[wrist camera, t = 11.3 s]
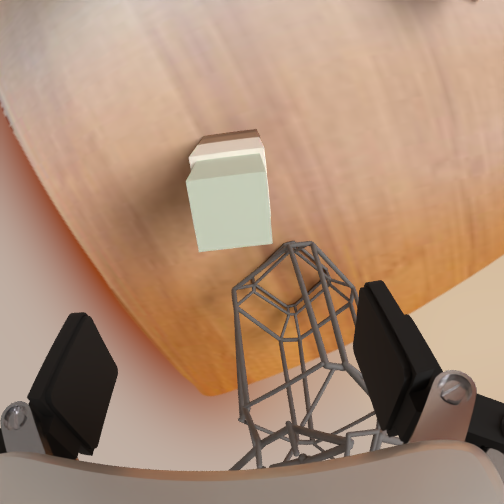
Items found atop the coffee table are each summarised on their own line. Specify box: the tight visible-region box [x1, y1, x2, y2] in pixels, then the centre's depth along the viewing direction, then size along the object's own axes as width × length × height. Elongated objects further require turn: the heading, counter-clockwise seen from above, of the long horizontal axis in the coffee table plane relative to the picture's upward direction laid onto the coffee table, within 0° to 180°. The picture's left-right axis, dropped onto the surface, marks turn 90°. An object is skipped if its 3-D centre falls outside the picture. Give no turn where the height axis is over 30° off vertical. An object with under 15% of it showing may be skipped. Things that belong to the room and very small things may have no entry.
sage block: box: [186, 153, 273, 252], centre depth 23 cm, size 5×5×6 cm
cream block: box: [189, 137, 271, 217], centre depth 29 cm, size 6×6×6 cm
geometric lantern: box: [228, 241, 403, 471], centre depth 30 cm, size 16×16×35 cm
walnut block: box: [198, 129, 260, 145], centre depth 34 cm, size 6×6×6 cm
